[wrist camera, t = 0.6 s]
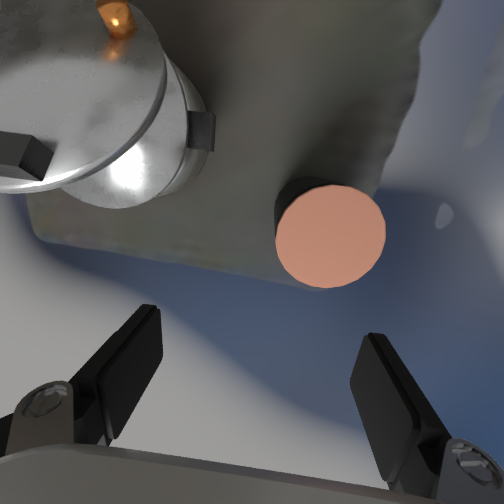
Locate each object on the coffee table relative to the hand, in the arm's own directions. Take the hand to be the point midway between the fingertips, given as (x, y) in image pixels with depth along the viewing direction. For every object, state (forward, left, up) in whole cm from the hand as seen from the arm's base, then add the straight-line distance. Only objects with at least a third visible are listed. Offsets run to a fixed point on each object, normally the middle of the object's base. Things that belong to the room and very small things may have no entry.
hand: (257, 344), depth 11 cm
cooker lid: (-12, -21, -14) cm, 28 cm away
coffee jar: (-1, +6, -32) cm, 33 cm away
